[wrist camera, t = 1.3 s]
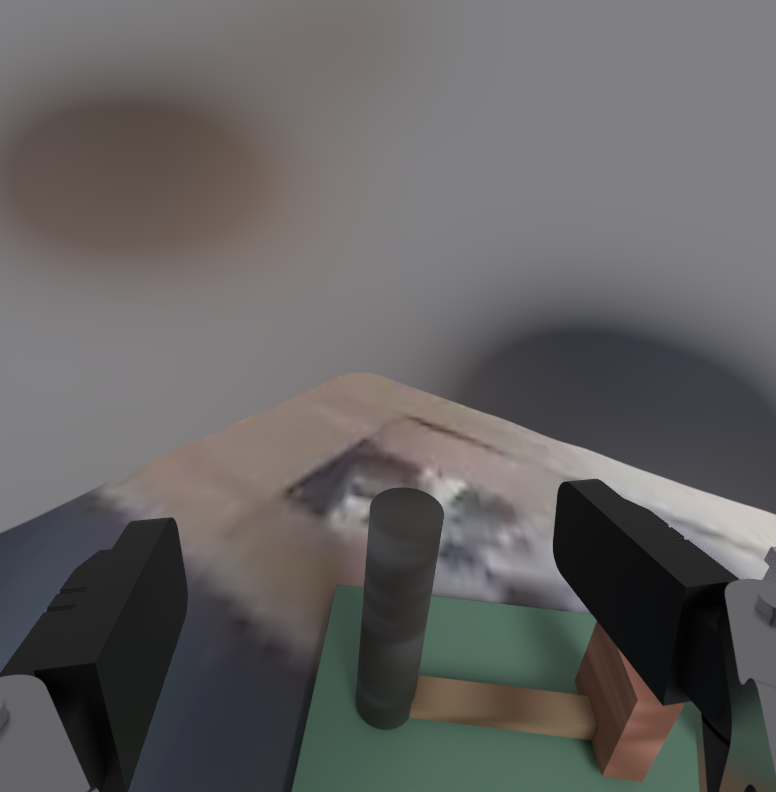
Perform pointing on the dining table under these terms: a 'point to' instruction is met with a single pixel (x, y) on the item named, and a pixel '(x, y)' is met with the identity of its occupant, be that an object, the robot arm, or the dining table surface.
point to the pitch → (459, 743)
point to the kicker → (479, 702)
